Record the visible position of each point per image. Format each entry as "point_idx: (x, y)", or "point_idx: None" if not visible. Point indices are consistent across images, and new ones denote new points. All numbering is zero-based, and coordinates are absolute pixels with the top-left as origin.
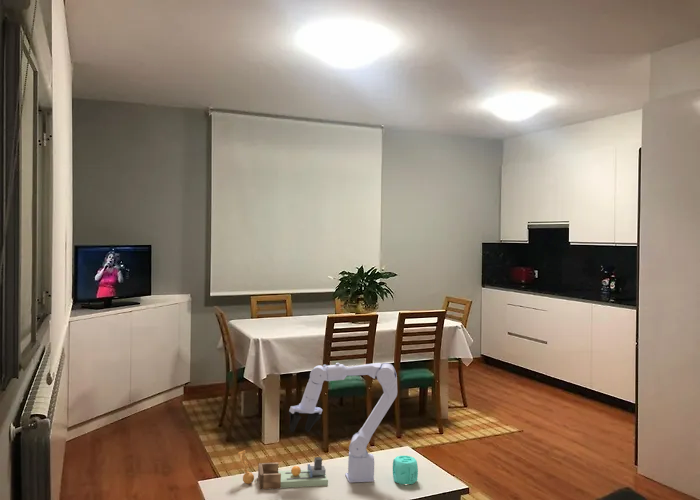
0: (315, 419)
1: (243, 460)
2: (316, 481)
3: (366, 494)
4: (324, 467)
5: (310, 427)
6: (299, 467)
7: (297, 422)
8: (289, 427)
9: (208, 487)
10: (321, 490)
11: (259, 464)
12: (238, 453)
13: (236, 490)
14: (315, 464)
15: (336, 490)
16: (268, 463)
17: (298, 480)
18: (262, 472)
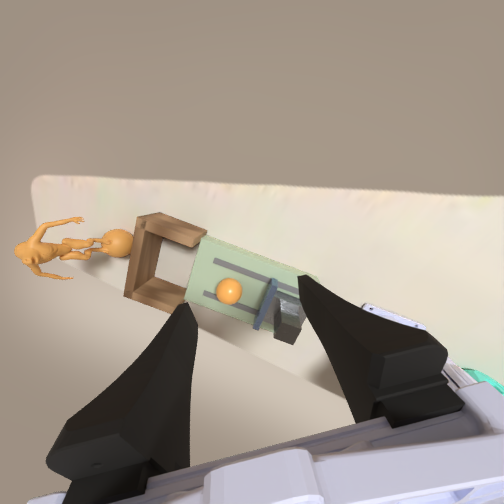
0: (352, 404)
1: (58, 255)
2: (264, 327)
3: (333, 393)
4: (303, 321)
5: (314, 327)
6: (236, 299)
7: (185, 403)
8: (172, 313)
9: (41, 217)
10: (263, 341)
11: (137, 227)
12: (15, 254)
13: (98, 260)
14: (274, 328)
15: (291, 355)
16: (164, 233)
17: (225, 310)
18: (132, 282)
